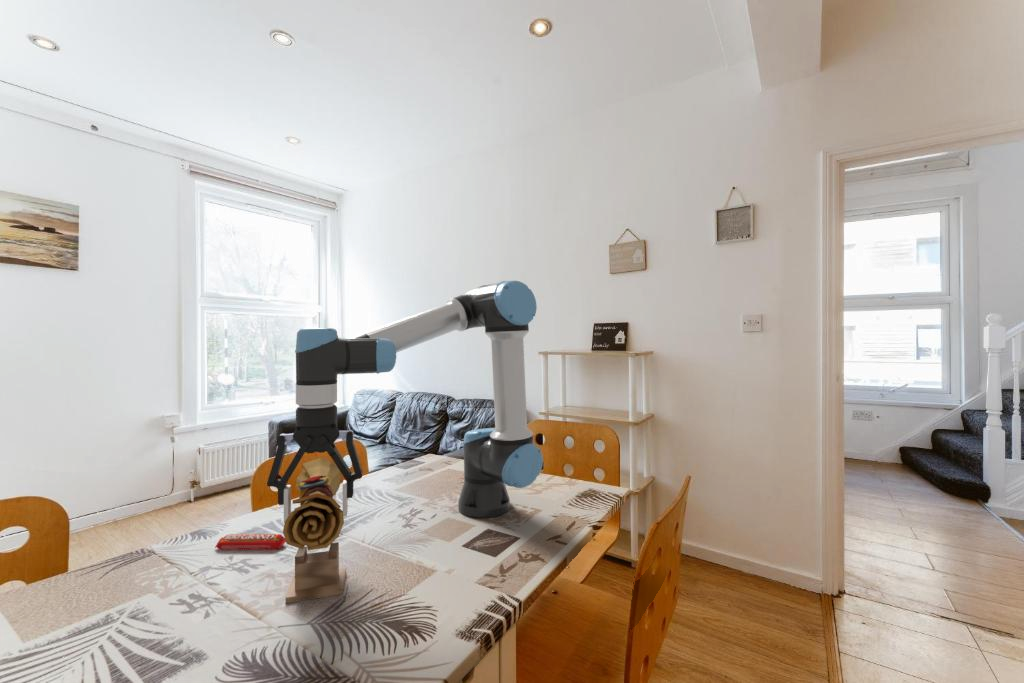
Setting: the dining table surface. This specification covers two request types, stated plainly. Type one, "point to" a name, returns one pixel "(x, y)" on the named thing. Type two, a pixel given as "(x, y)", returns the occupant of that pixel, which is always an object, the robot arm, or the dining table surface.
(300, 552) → the ridge block
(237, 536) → the candy bar
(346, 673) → the dining table surface
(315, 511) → the scroll
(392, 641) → the dining table surface
